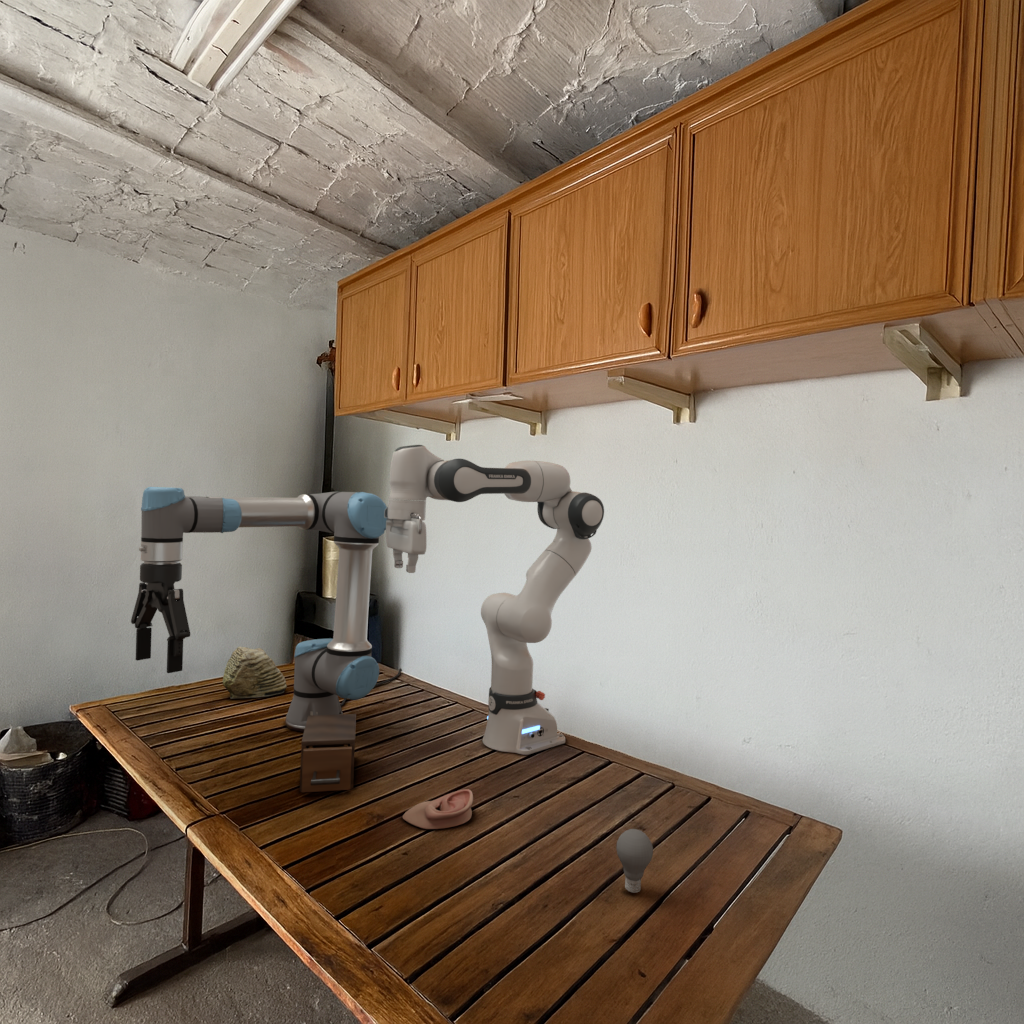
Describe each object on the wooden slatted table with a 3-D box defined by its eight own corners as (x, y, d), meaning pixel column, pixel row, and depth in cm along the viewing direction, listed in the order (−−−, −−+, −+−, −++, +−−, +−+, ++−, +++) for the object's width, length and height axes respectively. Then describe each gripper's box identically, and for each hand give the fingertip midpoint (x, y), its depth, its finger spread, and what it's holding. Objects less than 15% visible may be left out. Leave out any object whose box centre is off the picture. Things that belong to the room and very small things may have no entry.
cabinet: (353, 788, 138) (355, 739, 138) (299, 792, 136) (301, 741, 135) (354, 758, 154) (356, 713, 154) (306, 760, 151) (308, 715, 151)
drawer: (349, 801, 130) (351, 758, 130) (299, 804, 128) (300, 760, 128) (351, 761, 150) (353, 723, 150) (307, 763, 148) (309, 725, 147)
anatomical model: (397, 804, 123) (417, 779, 135) (396, 824, 123) (417, 798, 135) (462, 814, 121) (478, 788, 132) (462, 835, 121) (477, 807, 132)
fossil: (218, 695, 195) (220, 647, 195) (278, 685, 208) (279, 640, 207) (228, 703, 189) (230, 653, 188) (289, 692, 201) (290, 645, 201)
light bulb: (610, 879, 108) (613, 822, 108) (644, 879, 109) (647, 822, 109) (619, 902, 102) (622, 840, 102) (655, 901, 103) (658, 840, 103)
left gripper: (114, 557, 134) (112, 657, 135) (172, 569, 119) (168, 681, 120) (152, 556, 140) (149, 651, 141) (211, 567, 125) (207, 673, 126)
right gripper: (434, 514, 143) (432, 575, 143) (406, 511, 161) (404, 565, 162) (407, 513, 140) (405, 575, 141) (382, 510, 158) (379, 565, 159)
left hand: (158, 665), depth 130 cm, fingers open, 13 cm apart
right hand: (404, 570), depth 151 cm, fingers open, 8 cm apart
